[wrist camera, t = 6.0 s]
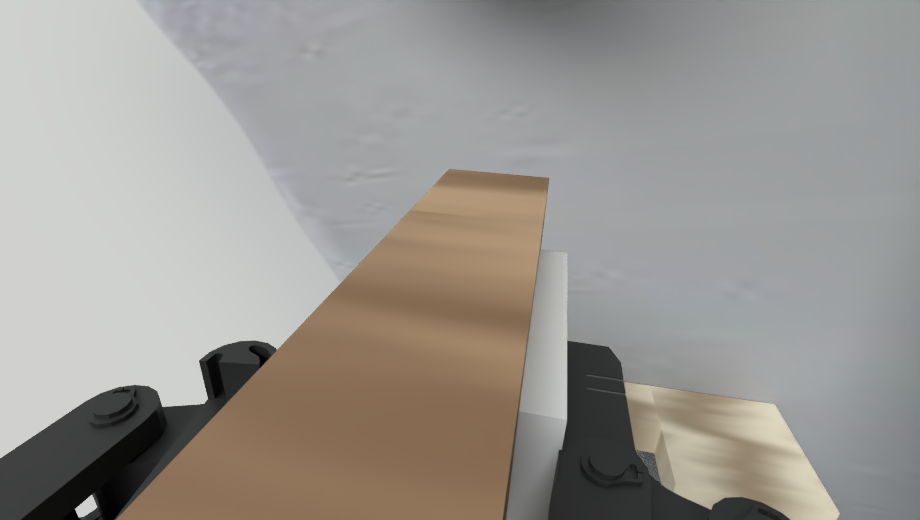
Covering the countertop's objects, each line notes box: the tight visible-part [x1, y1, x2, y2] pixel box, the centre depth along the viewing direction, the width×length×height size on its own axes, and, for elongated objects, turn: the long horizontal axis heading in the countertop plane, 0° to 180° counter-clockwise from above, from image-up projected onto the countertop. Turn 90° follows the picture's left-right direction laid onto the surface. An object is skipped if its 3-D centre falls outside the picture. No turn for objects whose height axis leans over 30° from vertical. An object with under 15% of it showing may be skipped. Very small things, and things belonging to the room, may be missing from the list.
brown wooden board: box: [116, 169, 549, 520], centre depth 12 cm, size 14×3×12 cm, turn 177°
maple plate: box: [624, 382, 840, 520], centre depth 29 cm, size 20×2×8 cm, turn 87°
